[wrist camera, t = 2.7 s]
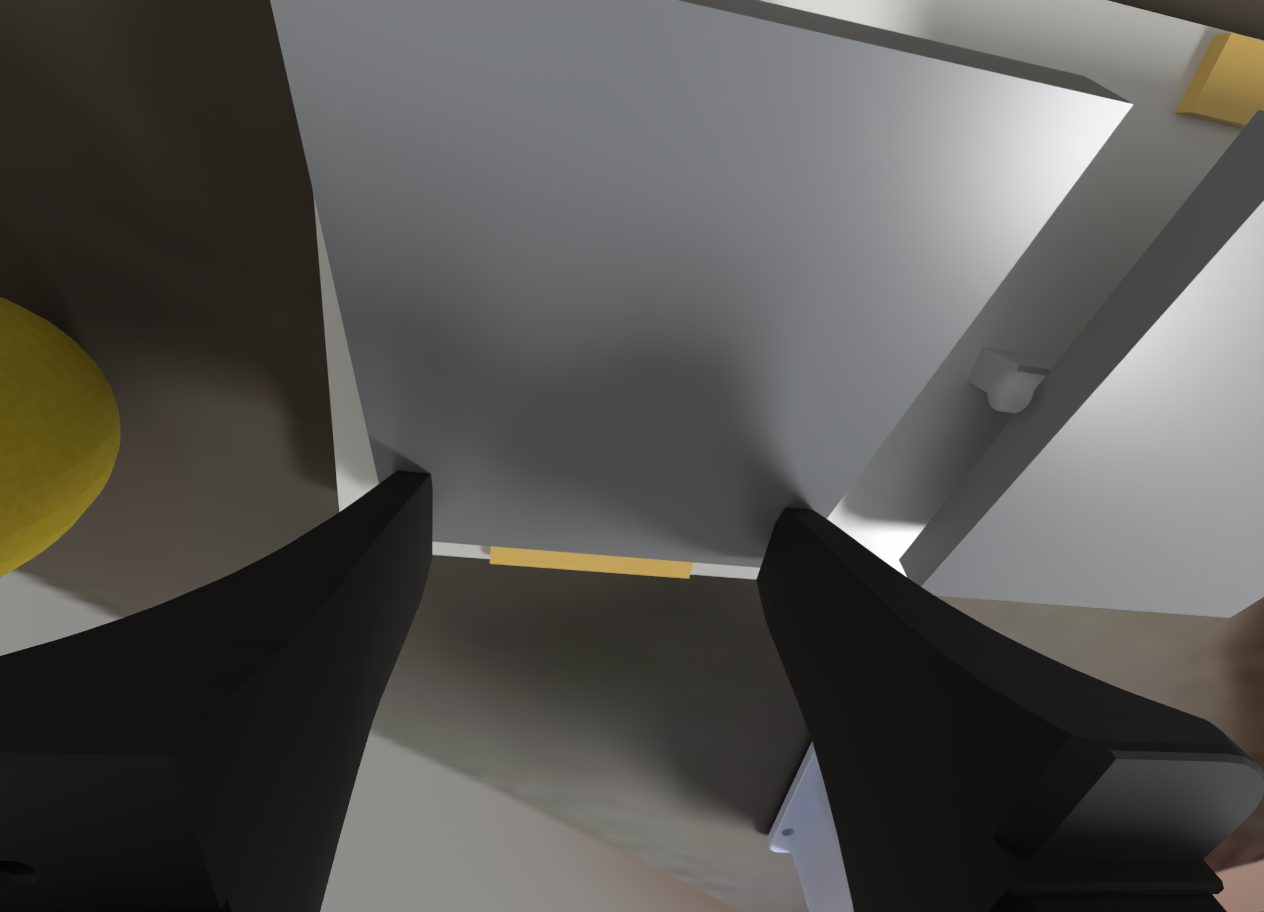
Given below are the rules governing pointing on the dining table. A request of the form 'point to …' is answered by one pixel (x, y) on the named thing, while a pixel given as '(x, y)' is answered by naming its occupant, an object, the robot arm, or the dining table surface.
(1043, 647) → the dining table surface
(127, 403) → the dining table surface
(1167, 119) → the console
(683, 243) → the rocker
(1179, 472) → the rocker
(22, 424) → the lemon
